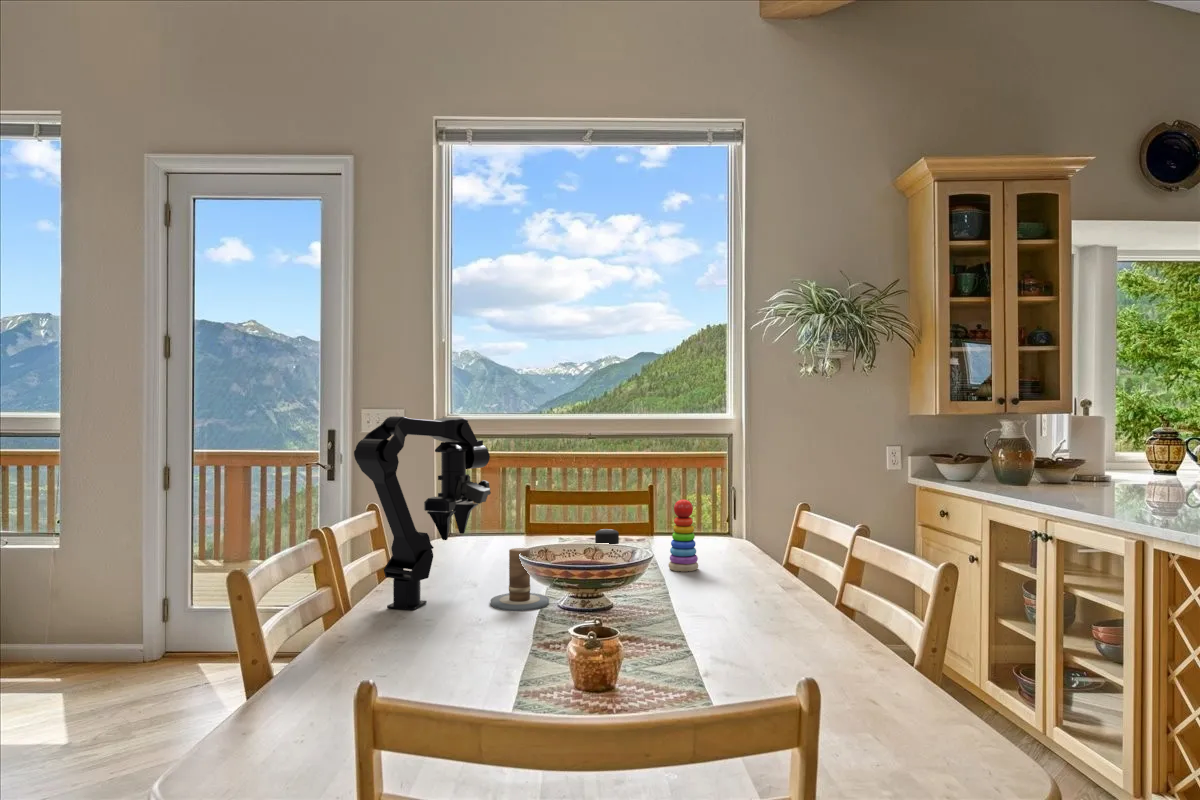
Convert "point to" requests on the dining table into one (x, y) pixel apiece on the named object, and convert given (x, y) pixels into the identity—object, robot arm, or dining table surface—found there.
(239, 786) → the dining table surface
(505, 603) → the hub plate
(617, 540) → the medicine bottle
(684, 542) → the stacking toy
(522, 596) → the brown cylinder
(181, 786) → the dining table surface
